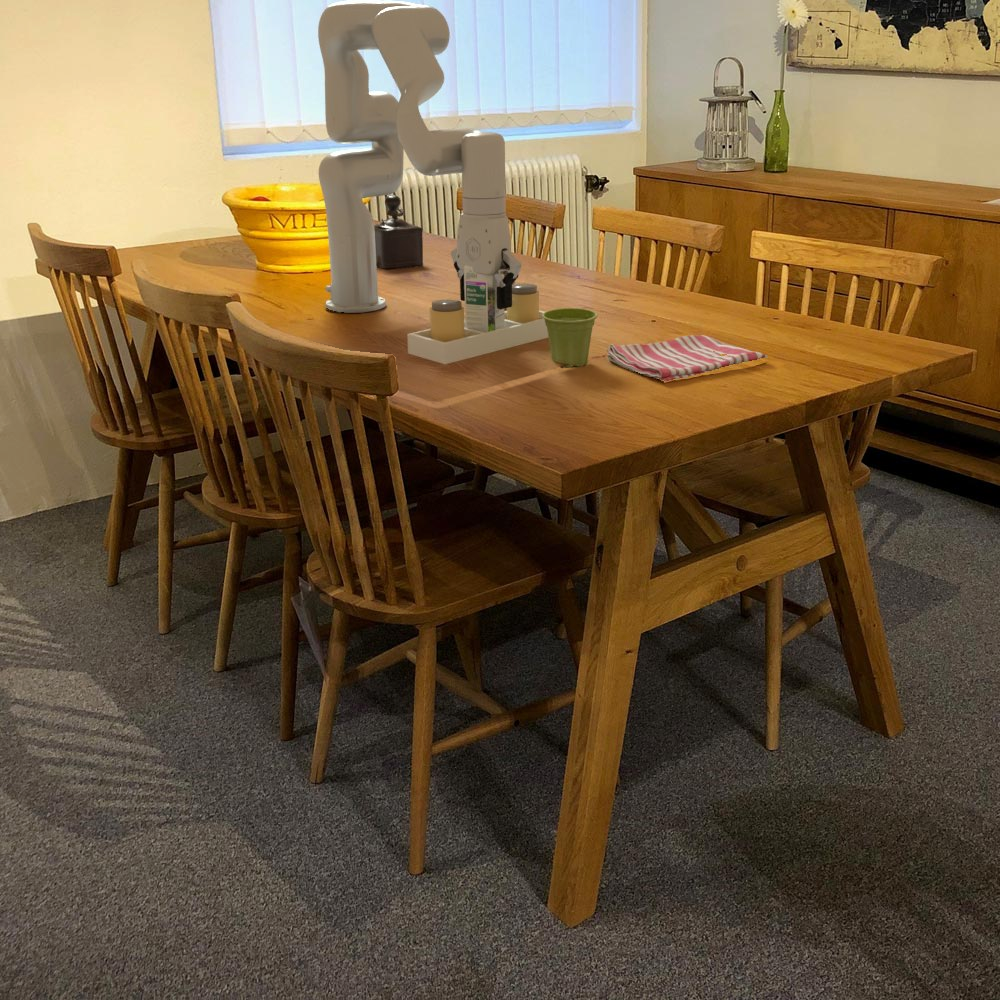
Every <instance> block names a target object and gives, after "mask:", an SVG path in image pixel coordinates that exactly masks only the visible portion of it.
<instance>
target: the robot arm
mask: <svg viewBox="0 0 1000 1000" xmlns="http://www.w3.org/2000/svg"><path fill="white" fill-rule="evenodd" d="M317 27H318V28H317V29H318V30H317V31H318V32H317V37H318V44H319V49H320V54H321V58H322V62H323V63H322V64H323V68H324V97H325V98H324V101H325V102H324V106H325V109H324V110H325V111H324V113H325V114H324V115H325V116H324V117H325V126H326V127H325V128H326V132H327V135H328V137H329V138H330V139H331V141H333V142H334V143H337V144H342V145H343V144H345V145H351V144H352V145H353V144H366V143H371V148H362V149H360V148H358V149H357V148H356V149H347V150H345V149H344V150H339V151H334V152H331V153H329V154H327V155H326V156H324V157H323V159H322V160H321V162H320V163H319V166H318V180H319V184H320V188H321V192H322V196H323V200H324V207H325V214H326V225H327V226H326V227H327V235H328V250H329V264H330V265H329V266H330V267H329V268H330V279H331V283H330V284H329V285H326V286H325V289H324V290H325V291H326V292H327V293H330V299H327V300H326V301H325V308H326V309H327V308H328V309H330V310H333V311H332V312H334V311H337V312H336V313H341V312H344V313H345V314H352V313H353V314H358V313H359V314H360V313H368V312H369V313H370V312H375V311H378V310H381V309H383V308H385V307H386V306H387V301H386V299H385V298H383V297H381V296H379V292H378V289H379V288H378V287H379V285H378V272H377V270H378V267H377V266H376V248H375V231H374V225H375V221H374V218H373V215H372V214H371V211H370V210H369V209H368V207H367V205H366V204H365V202H364V201H363V199H366V198H373V197H380V196H382V197H383V196H389V195H393V194H394V193H396V192H397V191H398V190H399V189H400V188H401V185H402V183H403V177H404V158H405V157H404V152H405V154H406V156H407V158H408V160H409V162H410V164H411V165H412V167H414V169H415V170H416V171H417V172H419V173H420V174H421V175H424V176H428V177H435V176H443V175H453V174H461V188H462V189H461V191H462V192H461V193H462V194H461V195H462V197H461V198H462V200H461V204H462V213H460V214H459V220H458V226H457V235H456V236H457V237H456V248H454V249H453V250H452V251H450V255H451V259H452V261H453V267H454V269H455V270H456V273H457V275H456V276H457V278H458V279H459V290H460V292H459V293H460V294H459V295H460V297H459V299H460V301H461V302H465V291H464V266H465V265H468V266H471V267H473V271H474V272H476V273H478V274H482V275H493V274H494V276H495V278H496V280H497V282H498V284H499V286H498V287H497V308H498V309H504V310H505V309H507V308H509V307H512V285H514V284H516V283H515V282H516V280H517V279H518V278H519V274H520V271H521V268H522V262H521V261H519V259H518V258H516V257H515V256H514V255H513V254H512V241H511V232H510V224H509V219H508V215H507V213H506V212H507V211H506V210H507V207H506V206H507V205H506V203H507V202H506V143H505V139H504V137H503V135H502V134H500V133H498V132H492V131H480V130H479V129H476V128H475V129H474V128H469V127H467V128H466V127H465V128H463V127H462V128H450V129H449V128H448V129H435V130H429V128H428V127H427V125H426V123H425V121H424V120H423V117H422V115H421V112H420V109H419V106H421V105H423V104H424V103H426V102H427V101H429V100H430V99H432V98H433V97H434V96H436V95H437V93H439V91H440V90H441V88H442V87H443V86H444V82H445V72H444V70H443V69H442V66H441V65H440V63H439V61H438V59H437V58H436V56H438V55H440V54H443V52H444V51H446V49H447V47H448V45H449V42H450V38H451V37H450V29H449V23H448V22H447V19H446V17H445V16H444V15H443V13H442V12H441V11H440V10H439V9H438V8H435V7H434V6H429V5H423V4H417V3H416V4H415V3H411V2H405V1H397V0H395V1H394V0H346V1H345V0H344V1H339V2H334V3H332V4H330V5H328V6H327V7H326V8H325V9H323V12H322V13H321V15H320V17H319V21H318V26H317ZM361 50H363V51H364V50H365V51H366V50H373V51H374V50H378V51H379V53H380V55H381V57H382V59H383V61H384V63H385V65H386V66H387V69H388V71H389V72H390V74H391V77H392V79H393V81H394V83H395V85H396V87H397V88H398V90H399V92H400V97H399V100H398V99H397V98H396V96H394V95H393V94H391V93H390V92H385V91H370V88H369V87H370V85H369V83H370V82H369V80H370V76H369V75H370V74H369V68H368V65H367V63H366V61H365V60H364V57H363V55H361V53H360V51H361ZM499 268H500V269H499ZM501 274H504V276H505V277H504V279H503V277H502V275H501ZM328 309H327V310H328ZM330 310H329V311H330Z"/></svg>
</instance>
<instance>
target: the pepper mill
mask: <svg viewBox="0 0 1000 1000" xmlns="http://www.w3.org/2000/svg"><path fill="white" fill-rule="evenodd" d="M401 201H402V200H401V198H400V197H399V196H397V194H389V195H387V196H386V197H385V199H384V205H385V206H386V207H387V211H386V215H387V216H389V217H390V218H389V217H388V218H386V219H385V220H384V219H383V218H381V219H380V220H381V222H380V223H377V224H374V231H375V248H376V266H377V268H381V269H384V270H385V269H386V270H397V269H396V268H399V269H407V267H408V268H415V266H417V267H422V265H423V266H424V262H423V261H424V256H423V255H424V251H423V250H424V247H423V246H424V244H423V243H424V242H423V238H424V237H423V228H422V227H420V226H417V225H415V224H412V223H409V222H408V221H406V220H405V219H402V218H400V217H402V216H403V217H404V215H405V210H404V209H403V208H402V207H401ZM398 217H399V218H398Z"/></svg>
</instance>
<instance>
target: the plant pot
mask: <svg viewBox="0 0 1000 1000" xmlns="http://www.w3.org/2000/svg"><path fill="white" fill-rule="evenodd" d="M542 317H543V318H544V319H545V325H546V326H547V330H548V342H549V349H550V357H551V360H552V361H553V362H555V363H559V364H563V365H560V367H561V368H570V367H572V366H576V367H582V366H584V365H586V364H588V359H589V353H590V345H591V339H592V332H593V327H594V325H595V320H596V319H597V318H598V312H596V311H594V310H591V309H587V308H579V307H562V308H554V309H549V310H546V311H544V313H543V314H542Z"/></svg>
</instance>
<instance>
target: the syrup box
mask: <svg viewBox="0 0 1000 1000" xmlns="http://www.w3.org/2000/svg"><path fill="white" fill-rule="evenodd" d="M499 269H500V268H499ZM501 275H502V277H503V279H504V274H501ZM498 286H499V284H498V282H497V280H496V278H495V276H494V274H493V275H482V274H478V273H476V272H474V271H473V267H471V266H468V265H465V266H464V291H465V301H464V321H465V328H468V329H472V330H476V331H480V332H484V333H486V332H490V331H494V330H498V329H502V328H505V316H504V311H505V309H498V308H497V287H498Z"/></svg>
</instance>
